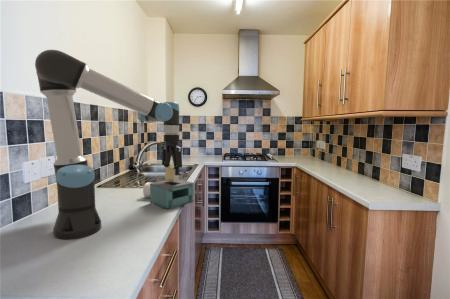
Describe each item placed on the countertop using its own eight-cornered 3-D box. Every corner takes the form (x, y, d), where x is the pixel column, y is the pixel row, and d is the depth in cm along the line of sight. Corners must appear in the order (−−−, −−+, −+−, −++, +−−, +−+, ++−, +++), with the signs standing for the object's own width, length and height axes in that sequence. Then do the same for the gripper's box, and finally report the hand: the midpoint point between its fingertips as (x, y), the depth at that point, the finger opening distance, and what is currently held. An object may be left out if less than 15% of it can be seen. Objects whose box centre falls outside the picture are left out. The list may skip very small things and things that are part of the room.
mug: (160, 200, 131) (160, 185, 131) (143, 199, 133) (142, 184, 133) (170, 194, 143) (169, 180, 142) (153, 193, 145) (153, 179, 144)
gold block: (178, 181, 126) (178, 167, 125) (173, 182, 124) (173, 168, 123) (171, 179, 130) (170, 166, 129) (166, 180, 128) (165, 166, 127)
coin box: (167, 209, 117) (166, 188, 116) (150, 203, 126) (150, 183, 125) (193, 202, 129) (193, 182, 128) (176, 196, 138) (176, 178, 137)
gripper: (189, 134, 121) (190, 182, 123) (166, 133, 133) (166, 176, 136) (177, 134, 115) (177, 184, 117) (154, 133, 128) (154, 178, 130)
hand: (171, 180), depth 126 cm, fingers closed on gold block, 6 cm apart
